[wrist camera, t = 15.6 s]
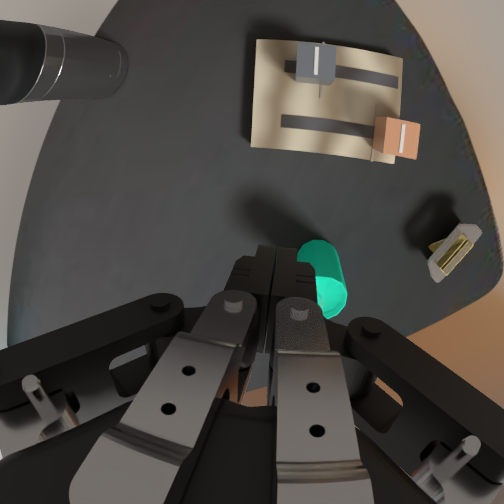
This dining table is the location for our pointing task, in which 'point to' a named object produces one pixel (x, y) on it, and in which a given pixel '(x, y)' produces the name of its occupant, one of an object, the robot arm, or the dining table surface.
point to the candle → (325, 275)
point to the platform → (452, 250)
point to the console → (324, 101)
